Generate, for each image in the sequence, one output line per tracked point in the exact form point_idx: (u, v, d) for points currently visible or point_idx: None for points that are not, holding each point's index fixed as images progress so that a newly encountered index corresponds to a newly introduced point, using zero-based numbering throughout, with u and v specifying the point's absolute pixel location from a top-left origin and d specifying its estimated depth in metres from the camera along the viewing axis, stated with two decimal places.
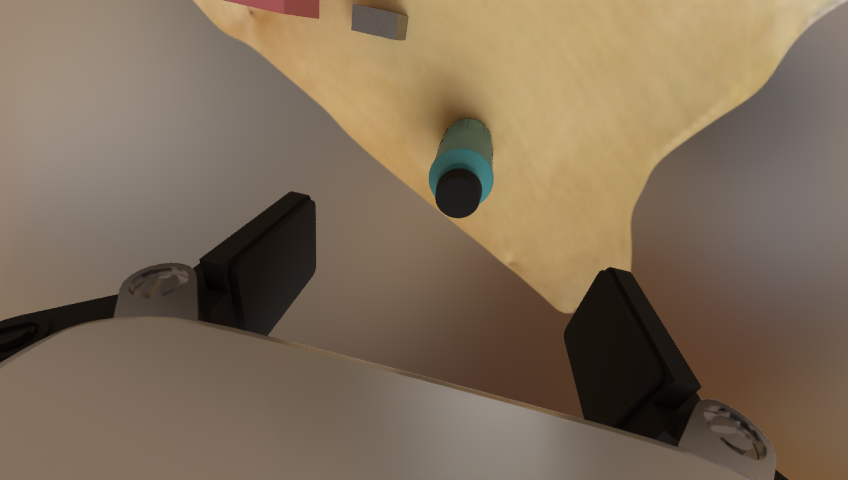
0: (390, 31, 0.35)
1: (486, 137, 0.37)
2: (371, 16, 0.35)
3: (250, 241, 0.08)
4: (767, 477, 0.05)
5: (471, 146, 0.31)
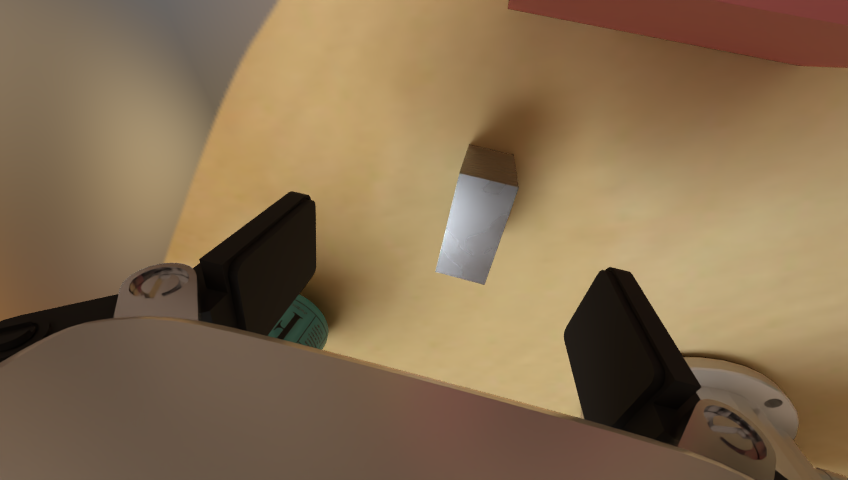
0: (451, 264, 0.15)
1: None
2: (485, 227, 0.14)
3: (250, 241, 0.08)
4: (767, 477, 0.05)
5: None
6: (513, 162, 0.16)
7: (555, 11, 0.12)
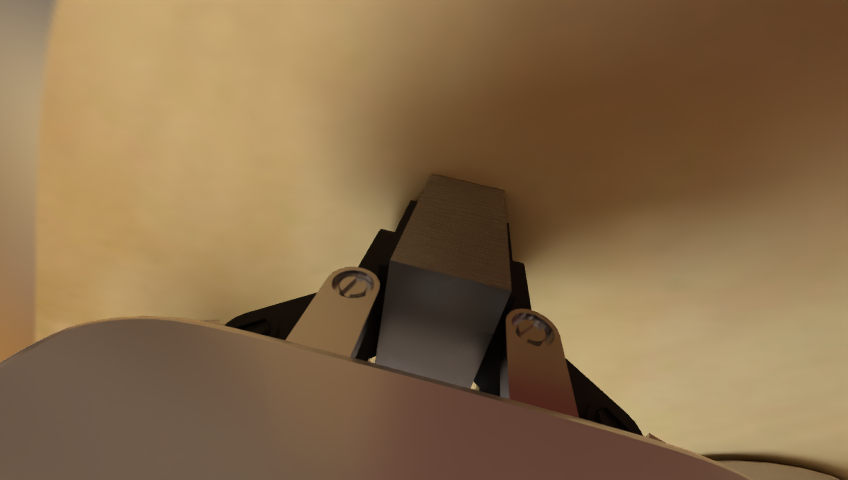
0: None
1: None
2: (448, 350, 0.07)
3: None
4: (560, 353, 0.07)
5: None
6: (503, 211, 0.09)
7: None
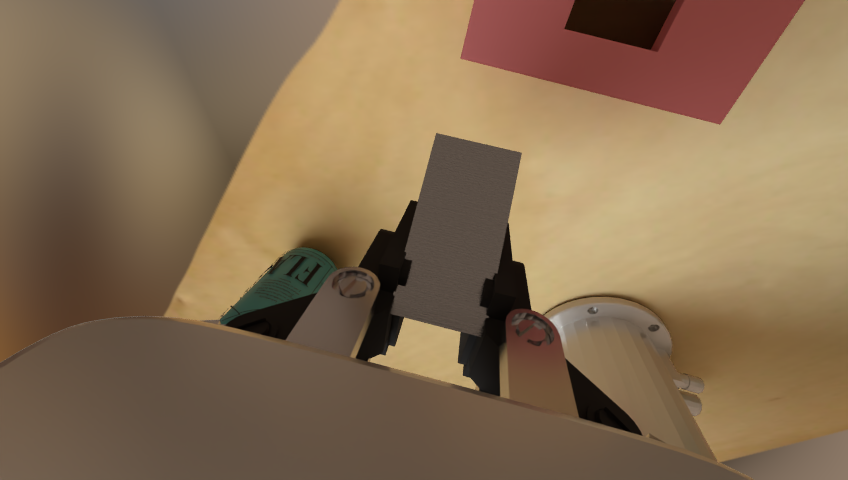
0: None
1: None
2: None
3: None
4: (560, 353, 0.07)
5: None
6: (508, 204, 0.09)
7: None
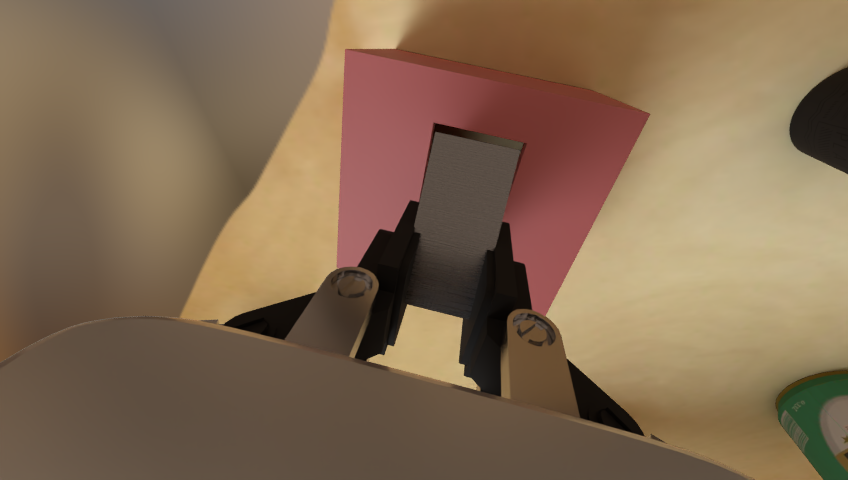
0: None
1: None
2: None
3: (406, 247, 0.08)
4: (562, 353, 0.07)
5: None
6: (503, 204, 0.09)
7: None
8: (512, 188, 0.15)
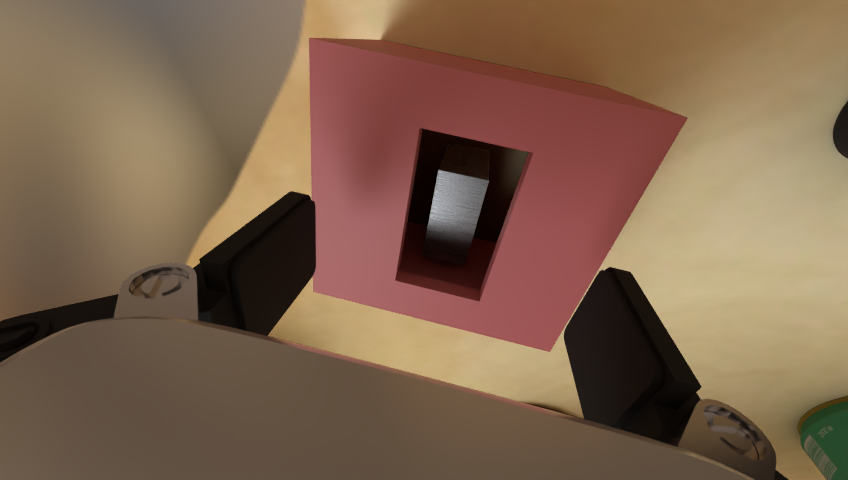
0: None
1: None
2: None
3: (250, 241, 0.08)
4: (767, 477, 0.05)
5: None
6: (479, 209, 0.16)
7: None
8: (515, 206, 0.12)
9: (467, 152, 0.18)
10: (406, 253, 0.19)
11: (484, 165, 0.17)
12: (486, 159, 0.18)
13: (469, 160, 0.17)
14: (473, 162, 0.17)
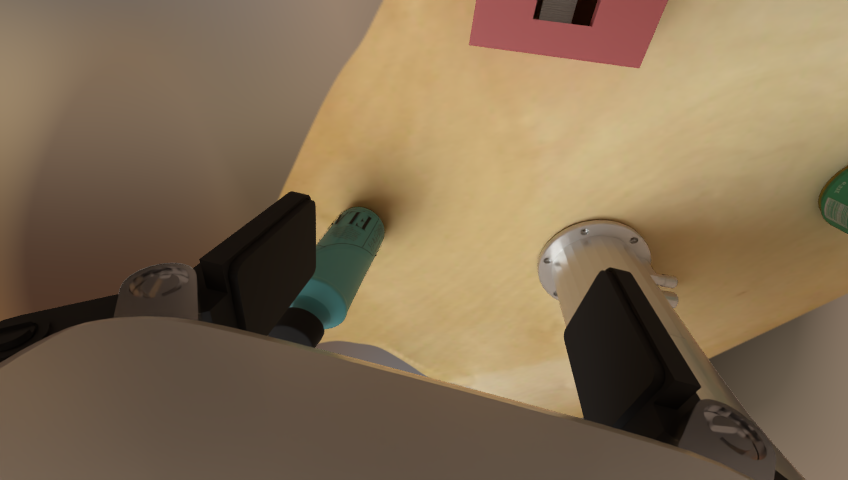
0: None
1: None
2: None
3: (250, 241, 0.08)
4: (767, 477, 0.05)
5: (350, 302, 0.31)
6: None
7: None
8: None
9: None
10: None
11: None
12: None
13: None
14: None
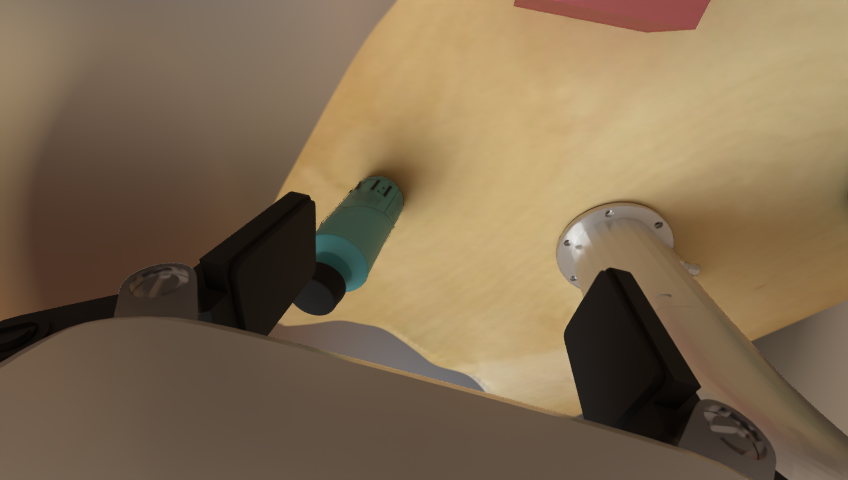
0: None
1: None
2: None
3: (250, 241, 0.08)
4: (767, 477, 0.05)
5: (371, 265, 0.30)
6: None
7: (535, 7, 0.28)
8: None
9: None
10: None
11: None
12: None
13: None
14: None
